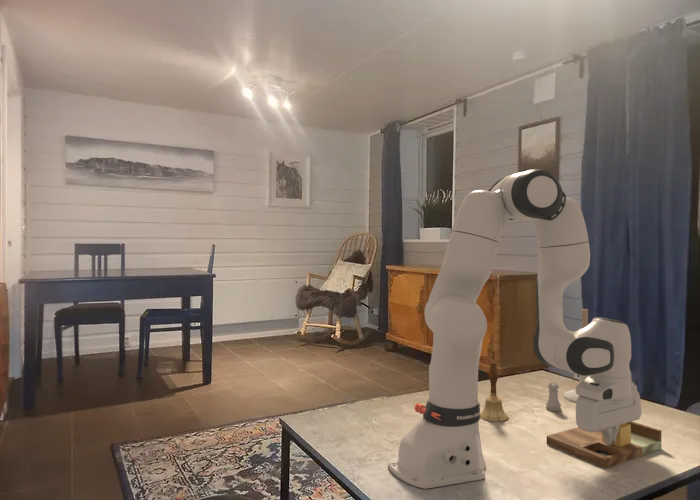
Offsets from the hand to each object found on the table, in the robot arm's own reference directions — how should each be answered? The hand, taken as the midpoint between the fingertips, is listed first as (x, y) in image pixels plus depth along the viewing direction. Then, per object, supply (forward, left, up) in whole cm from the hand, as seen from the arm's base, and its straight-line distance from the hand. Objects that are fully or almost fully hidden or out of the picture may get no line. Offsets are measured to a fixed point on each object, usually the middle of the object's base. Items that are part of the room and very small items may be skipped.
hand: (609, 443), depth 116 cm
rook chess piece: (+17, +29, -3) cm, 34 cm away
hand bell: (-4, +33, -3) cm, 34 cm away
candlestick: (+35, +31, -3) cm, 47 cm away
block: (+4, +1, -1) cm, 5 cm away
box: (+4, +4, -3) cm, 6 cm away
